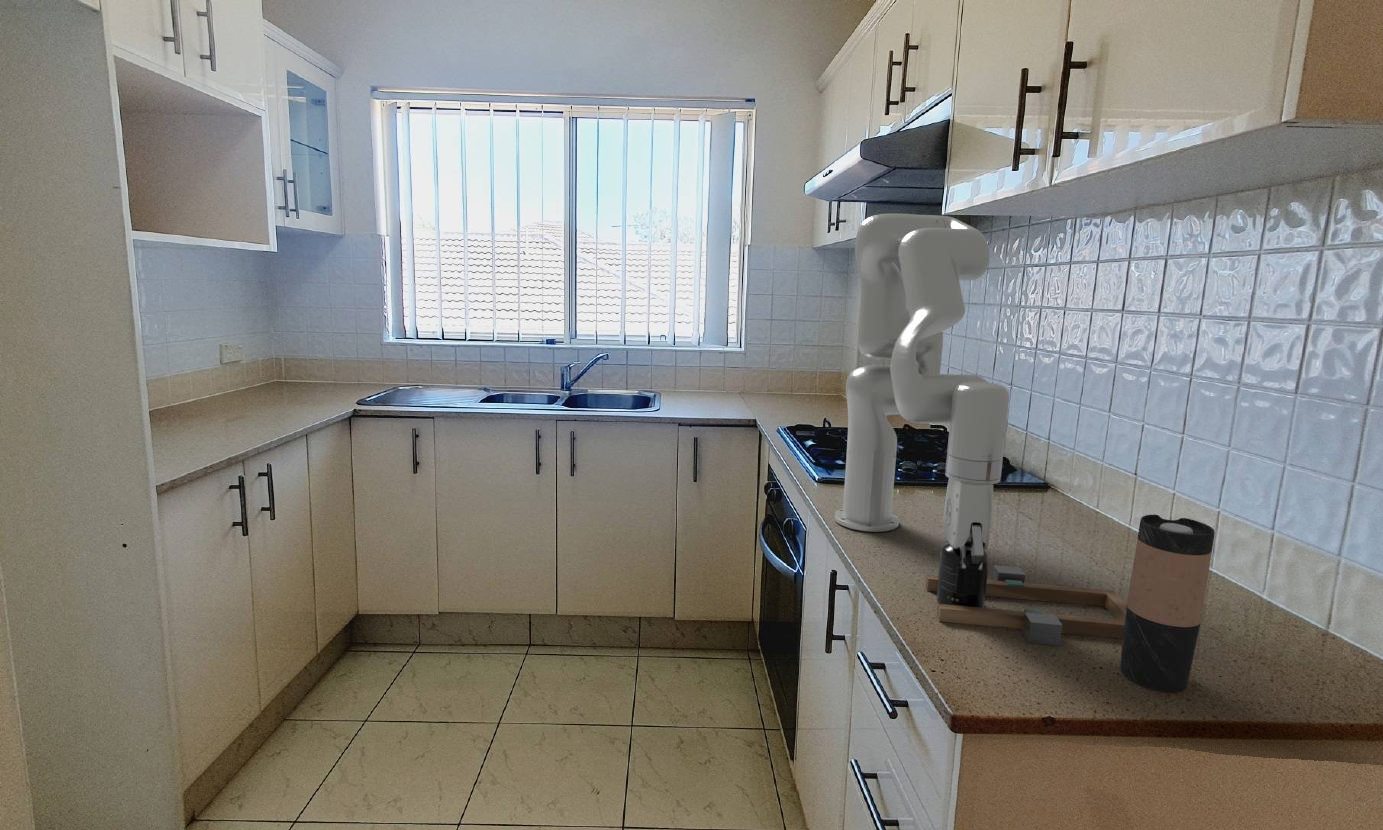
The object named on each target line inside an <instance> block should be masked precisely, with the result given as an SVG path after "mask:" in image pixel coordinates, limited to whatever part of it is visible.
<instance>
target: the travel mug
mask: <svg viewBox="0 0 1383 830" xmlns="http://www.w3.org/2000/svg"><path fill="white" fill-rule="evenodd" d="M1215 534H1216V532H1215V530H1214V528H1213V527H1211V526H1210V525H1208V524H1206V523H1203V522H1201V521H1198V520H1194V519H1192V518H1191V519H1190V518H1186V517H1181V518H1179V519H1166V518H1162V517H1161V516H1160V515H1159V514H1154V513H1153V514H1146V515H1143V516H1141V518H1140V520H1139V526H1138V533H1137V539H1136V544H1135V545H1136V546H1135V552H1134V557H1133V564H1132V570H1131V578H1130V583H1129V589H1128V593H1127V594H1128V595H1127V600H1126V605H1127V608H1126V617H1125V626H1124V635H1123V638H1122V646H1121V652H1120V666H1119V667H1120V671H1121V674H1122V675H1123V676H1124V677H1125V678H1126V679H1128V681H1131V682H1133V683H1135V684H1136V685H1139V686H1142V687H1143V688H1146V689H1150V690H1153V691H1157V692H1163V693H1170V694H1171V693H1172V694H1173V693H1180V692H1183V691H1185V690H1186V689H1187V687H1188V683H1189V678H1190V675H1191V670H1192V665H1193V661H1194V655H1195V651H1196V647H1197V646H1196V645H1197V642H1198V637H1199V633H1200V628H1201V622H1202V616H1203V611H1204V603H1205V599H1206V597H1205V596H1206V592H1207V584H1208V579H1209V572H1210V567H1211V561H1212V552H1213V547H1214V540H1215Z"/></svg>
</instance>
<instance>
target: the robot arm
mask: <svg viewBox="0 0 1383 830" xmlns="http://www.w3.org/2000/svg"><path fill="white" fill-rule="evenodd" d="M855 237H856V238H855V245H854V250H855V251H854V253H855V261H856V267H857V270H858V275H859V282H860V292H859V293H860V294H859V307H858V309H859V310H858V320H857V321H858V323H857V346H858V350H859V353H860V354H861V355H862V356H864V357H866V358H871V359H883V360H884V359H888V360H890V365H889V364H888V365H887V364H886V365H883V364H882V365H874V364H873V365H865V366H860V367H857V368H855V369H854V370H852V371H851V372H850V373H849V375H848V376H847V379H846V383H845V395H846V406H847V424H848V425H847V441H846V442H847V443H846V455H845V456H846V460H845V475H844V486H843V487H844V489H843V502H842V503H843V504H842V508H840V509H838V510H836V511H835V512H834V521H835V522H837V523H838V525H841V526H843V527H846V528H847V529H851V530H857V531H861V532H870V533H873V532H874V533H879V532H883V533H884V532H888V531H889V532H890V531H893V530H895V529H896V528H898V527H899V525H900V519H899V517H898V516H897V515H895V514H894V513H892V511H893V501H894V500H893V499H894V498H893V497H894V485H895V474H896V461H897V447H898V437H897V434H896V431H895V429H894V427H893V426H892V425H891V423H890V422H889V420H888V418H887V416H893V415H900V416H901V417H902V418H903V419H904V420H905V421H906V422H909V423H912V424H949V432H948V443H947V451H946V461H945V476H946V478H948V481H947V487H946V494H945V500H944V508H943V514H942V523H941V525H942V526H941V529H942V532H943V533H944V536H945V538H946V539H947V541H948V542H949V543H950V545H951V546H952V547H953V548H954V549H957V548H958V547H960V566H958V570H957V580H956V592H957V593H958V594H966V595H979V592H980V583H981V573H982V562H983V561H982V560H983V559H982V558H983V555H984V550H986V551H987V549H988V547H989V544H990V537H991V528H992V518H993V501H994V485H995V484H998V483H1000V482H1001V478H1002V469H1003V458H1004V448H1005V439H1006V430H1007V421H1008V413H1009V404H1010V393H1009V391H1008V388H1006V387H1005V386H1003V385H1001V384H999V383H998V384H997V383H993V382H989V381H987V380H986V379H985V378H984V377H980V376H978V375H974V374H951V373H950V374H949V373H947V374H942V373H941V368H942V367H941V366H942V357H943V347H944V346H943V345H944V333H943V332H944V331H946V330H948V329H950V328H952V327H953V326H955V325H957V324H958V323H959V322H960V321H961V320H962V319H963V317H964V316H965V312H966V305H965V303H964V298H963V293H962V287H961V283H960V281H975V280H978V279H980V278H981V277H982V276H983V275H984V274H985V272H986V271H987V269H988V267H989V263H990V248H989V244H988V242H987V240H986V237H985V236H984V234H982V232H981V231H980V230H978V229H977V228H975V227H973V226H971V225H969V224H968V223H965V222H963V221H961V220H960V219H957V218H955V217H952V216H947V215H936V214H935V215H934V214H915V213H914V214H913V213H912V214H911V213H880V214H875V215H872V216H868V217H867V218H865V219H864V220H863V221H862V222H861V224H860V225H859V227H858V229H857V233H856V236H855ZM896 263H899V266H900V269H899V267H898V266H897V264H896ZM906 305H907V307H906ZM982 541H983V542H982ZM965 543H971V545H972V547H967V546H965ZM966 551H967V552H971V555H968V557H967V558H966Z"/></svg>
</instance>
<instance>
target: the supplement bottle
mask: <svg viewBox="0 0 1383 830" xmlns="http://www.w3.org/2000/svg"><path fill="white" fill-rule="evenodd" d="M982 542H983V541H982ZM965 546H967V547H972V545H971V543H965ZM968 555H971V552H967V551H966V558H967V557H968ZM982 559H983V560H982V561H983V562H982V573H981V583H980V592H979V595H966V594H958V593H957V592H956V580H957V570H958V566H960V547H958V548H957V549H954V548H953V547H952V546H951V545H950V543H949V541H948V542H946V543H945V544H943V545H942V546H941V548H940V551H939V559H938V560H939V561H938V562H939V564H938V573H937V574H938V575H937V576H938V585H937V592H936V602H937V603H938V604H946V605H957V606H969V607H980V608H985V603H986V596H985V595H986V584H987V580H988V572H989V561H990V560H989V559H990V556H989V553H988V552H987V549H986V550H984V555H983V558H982ZM938 604H937V605H938Z"/></svg>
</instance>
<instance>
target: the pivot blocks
mask: <svg viewBox="0 0 1383 830" xmlns="http://www.w3.org/2000/svg"><path fill="white" fill-rule="evenodd" d="M991 579H992V580H993V581H1005V580H1016V581H1022V583H1026V582H1025V581H1026V574H1025V572H1024V571H1023V569H1022V568H1021V567H1018V566H1009V565H997V564H996V565H993V570H992V578H991ZM1049 614H1050V613H1047V614H1038V613H1027V612H1024V620H1023V628H1022V629H1021V633H1022V634H1023V636H1024V638H1025V639H1026V641H1027V643H1029V644H1038V645H1049V646H1057V647H1058V646H1059V647H1060V646H1061V639H1062V634H1063V633H1062V624H1061V622H1060V621H1059V620H1058V618H1057V617H1056V616H1055V615H1049Z"/></svg>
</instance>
